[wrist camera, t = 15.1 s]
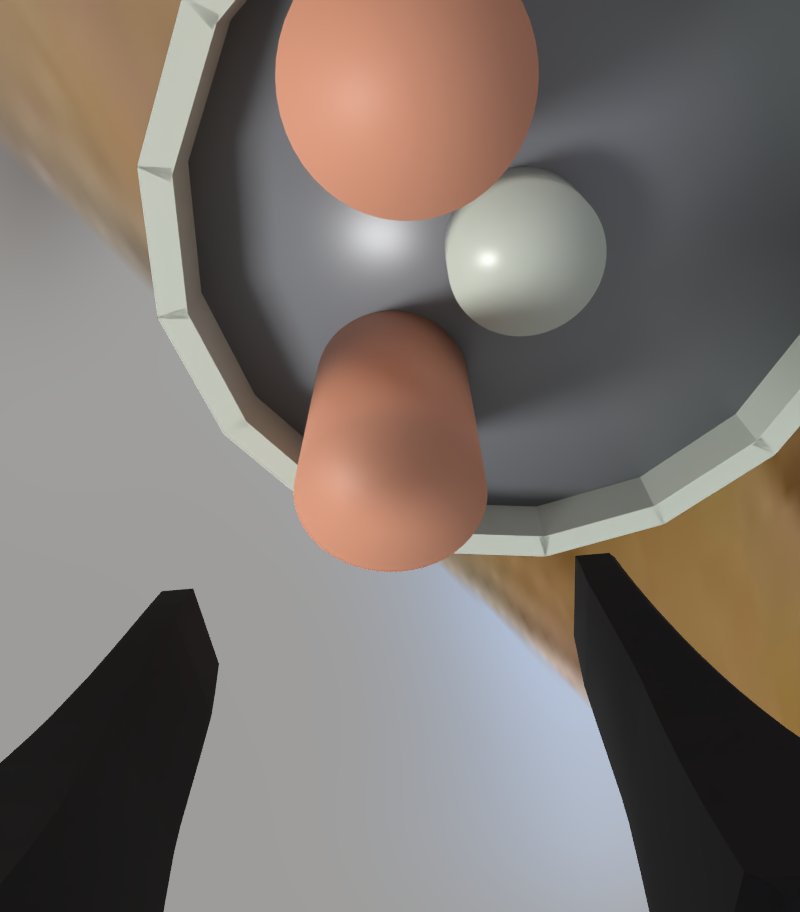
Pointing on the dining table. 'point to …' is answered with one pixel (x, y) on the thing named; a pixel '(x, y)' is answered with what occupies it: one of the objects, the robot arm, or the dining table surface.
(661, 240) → the groove tray
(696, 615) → the dining table surface
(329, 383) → the reddish brown rounded cylinder
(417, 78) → the salmon rounded capsule
